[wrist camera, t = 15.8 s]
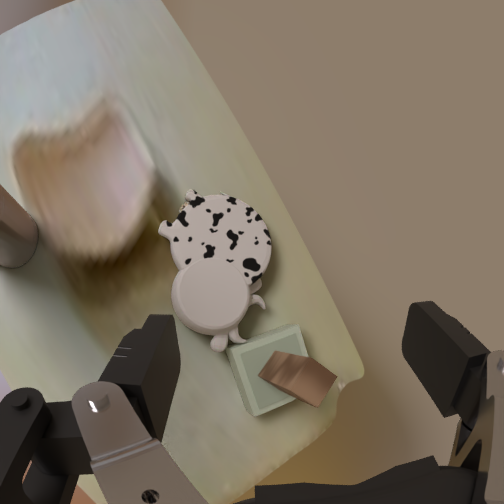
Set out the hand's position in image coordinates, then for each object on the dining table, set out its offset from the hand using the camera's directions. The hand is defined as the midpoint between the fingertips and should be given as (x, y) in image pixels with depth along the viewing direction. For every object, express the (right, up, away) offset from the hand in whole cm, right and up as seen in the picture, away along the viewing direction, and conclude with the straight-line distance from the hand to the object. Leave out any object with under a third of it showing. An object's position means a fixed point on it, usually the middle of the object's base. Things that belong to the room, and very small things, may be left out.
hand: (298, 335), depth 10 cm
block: (+2, -15, +34) cm, 38 cm away
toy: (-8, +1, +39) cm, 40 cm away
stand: (+1, -16, +38) cm, 41 cm away
